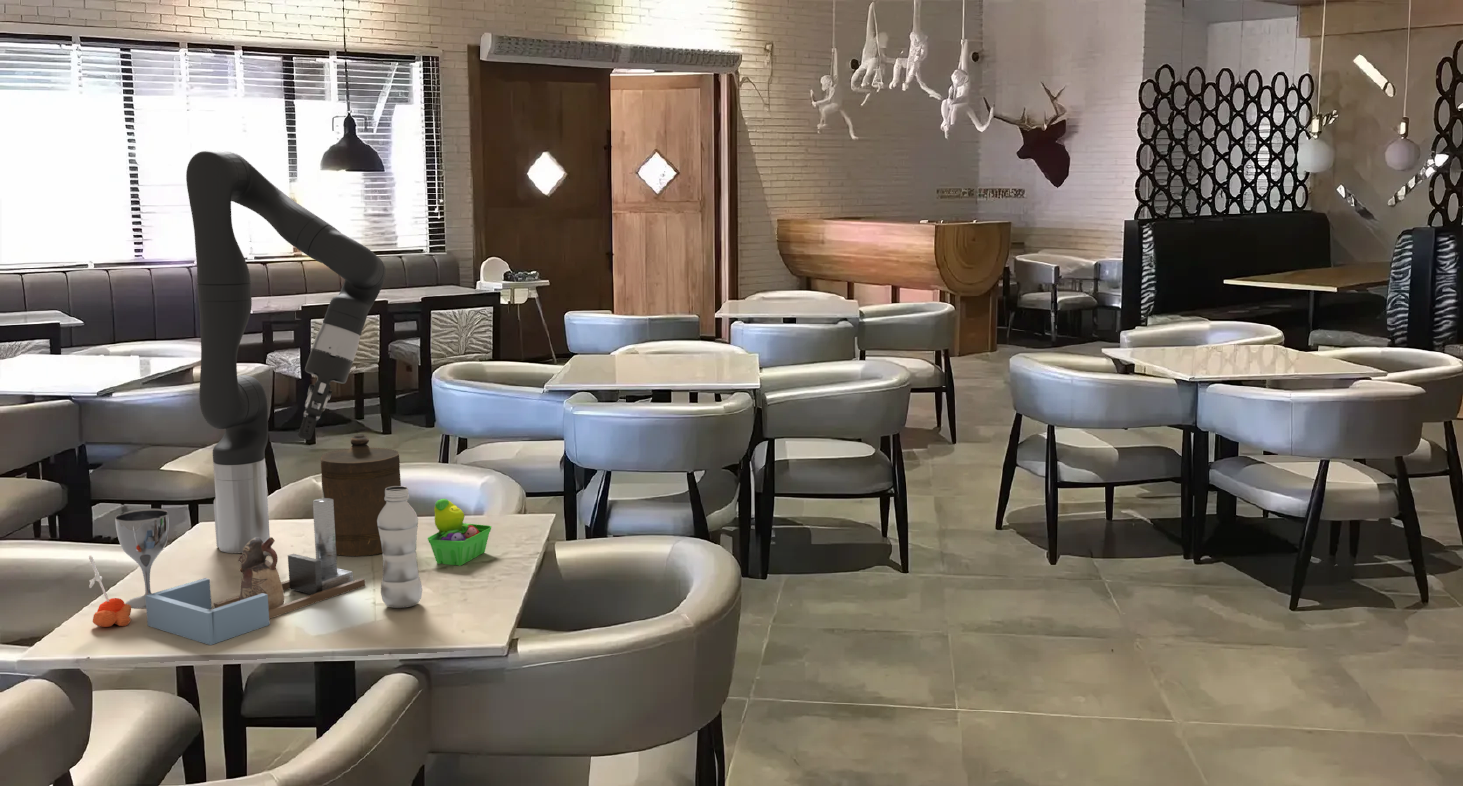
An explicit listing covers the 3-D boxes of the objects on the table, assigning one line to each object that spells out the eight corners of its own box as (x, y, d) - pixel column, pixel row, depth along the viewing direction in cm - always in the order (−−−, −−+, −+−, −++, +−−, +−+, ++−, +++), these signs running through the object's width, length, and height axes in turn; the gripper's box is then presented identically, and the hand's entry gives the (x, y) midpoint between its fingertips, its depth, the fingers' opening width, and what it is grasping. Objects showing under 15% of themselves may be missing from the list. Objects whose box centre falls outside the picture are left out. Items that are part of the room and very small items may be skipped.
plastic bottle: (412, 613, 202) (406, 494, 198) (374, 611, 203) (367, 492, 200) (429, 601, 208) (424, 485, 205) (392, 598, 209) (386, 483, 206)
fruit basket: (463, 568, 226) (460, 508, 224) (420, 564, 229) (418, 504, 227) (494, 551, 236) (492, 494, 235) (453, 547, 239) (451, 490, 237)
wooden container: (361, 532, 250) (355, 425, 247) (420, 540, 244) (415, 431, 240) (308, 551, 237) (301, 438, 233) (368, 561, 231) (363, 445, 227)
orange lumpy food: (71, 635, 192) (64, 561, 190) (112, 615, 201) (106, 544, 200) (106, 638, 191) (100, 563, 189) (145, 617, 200) (139, 545, 198)
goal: (147, 625, 196) (145, 595, 195) (207, 607, 205) (205, 578, 204) (210, 645, 188) (207, 613, 187) (269, 624, 197) (267, 594, 196)
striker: (289, 589, 213) (284, 504, 211) (328, 576, 220) (323, 494, 218) (316, 596, 210) (311, 509, 207) (355, 583, 216) (350, 499, 214)
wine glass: (140, 612, 203) (133, 523, 200) (112, 603, 207) (105, 516, 204) (184, 598, 209) (178, 512, 207) (156, 590, 213) (149, 506, 211)
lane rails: (214, 610, 203) (213, 603, 203) (323, 575, 222) (322, 569, 221) (257, 622, 198) (256, 615, 197) (365, 586, 216) (364, 579, 216)
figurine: (249, 600, 208) (245, 531, 206) (291, 601, 208) (287, 532, 206) (231, 615, 201) (226, 543, 199) (274, 615, 201) (270, 544, 199)
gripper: (311, 348, 230) (282, 431, 228) (313, 344, 217) (282, 432, 215) (351, 361, 233) (323, 443, 231) (355, 358, 219) (325, 445, 217)
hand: (303, 438), depth 223 cm, fingers open, 8 cm apart
